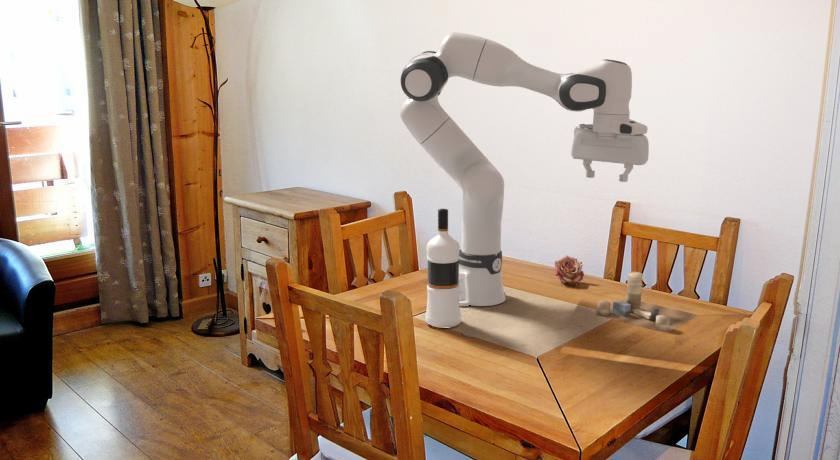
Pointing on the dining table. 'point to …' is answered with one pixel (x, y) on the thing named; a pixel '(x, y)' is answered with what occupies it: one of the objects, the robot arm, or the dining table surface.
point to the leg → (638, 296)
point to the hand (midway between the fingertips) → (606, 179)
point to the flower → (569, 270)
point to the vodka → (443, 277)
